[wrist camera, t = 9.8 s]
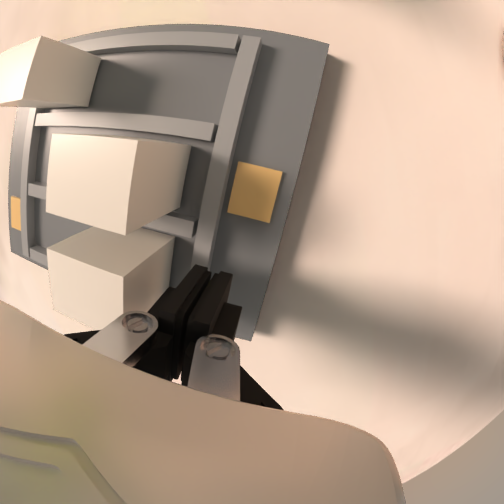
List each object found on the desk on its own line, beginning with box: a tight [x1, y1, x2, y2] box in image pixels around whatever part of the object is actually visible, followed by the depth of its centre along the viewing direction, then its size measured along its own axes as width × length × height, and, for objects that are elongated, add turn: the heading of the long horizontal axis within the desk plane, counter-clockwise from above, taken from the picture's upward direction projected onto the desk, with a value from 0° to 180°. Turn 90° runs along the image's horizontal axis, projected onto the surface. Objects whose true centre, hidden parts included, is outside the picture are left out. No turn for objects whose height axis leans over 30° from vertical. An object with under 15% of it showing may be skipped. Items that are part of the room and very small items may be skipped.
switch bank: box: [8, 24, 329, 341], centre depth 13 cm, size 20×16×2 cm
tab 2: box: [46, 134, 191, 236], centre depth 10 cm, size 4×3×5 cm
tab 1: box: [0, 36, 101, 108], centre depth 9 cm, size 4×3×5 cm
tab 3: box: [47, 226, 175, 330], centre depth 12 cm, size 4×3×5 cm
